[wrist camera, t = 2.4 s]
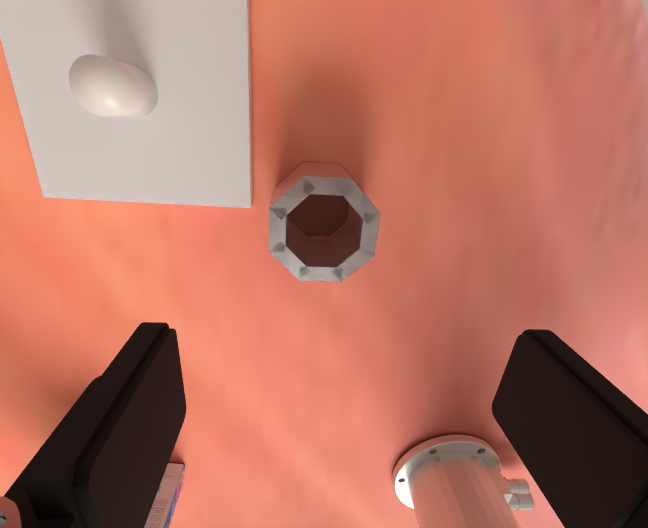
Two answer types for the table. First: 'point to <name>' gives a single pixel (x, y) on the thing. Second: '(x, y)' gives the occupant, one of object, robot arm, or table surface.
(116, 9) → the flange plate
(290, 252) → the collar
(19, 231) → the table surface
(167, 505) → the ink cartridge box
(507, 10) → the table surface
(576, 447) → the robot arm
